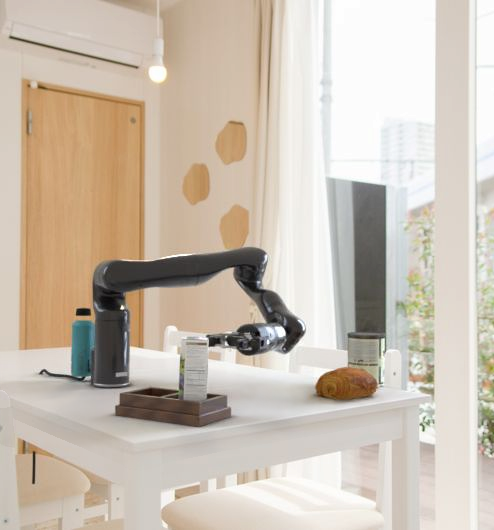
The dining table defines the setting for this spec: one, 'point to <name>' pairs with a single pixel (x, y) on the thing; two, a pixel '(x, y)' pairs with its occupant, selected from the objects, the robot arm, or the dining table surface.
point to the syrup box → (193, 368)
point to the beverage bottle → (82, 344)
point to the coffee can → (367, 353)
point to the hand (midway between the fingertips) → (220, 343)
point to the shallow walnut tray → (172, 407)
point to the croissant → (346, 384)
